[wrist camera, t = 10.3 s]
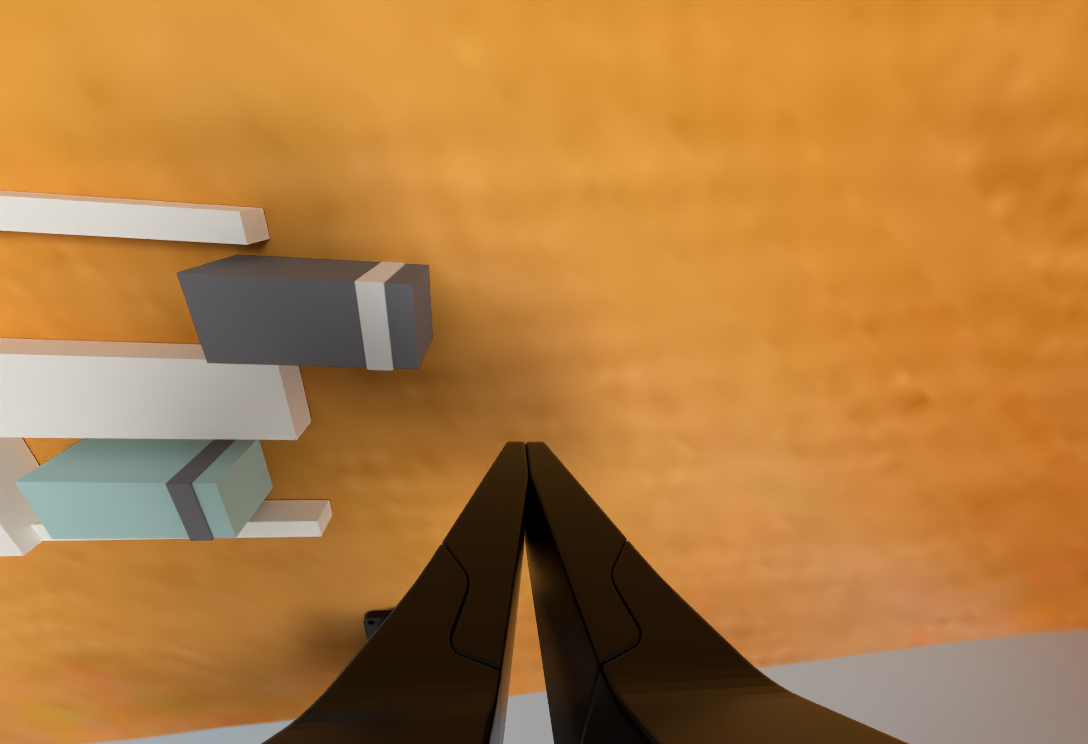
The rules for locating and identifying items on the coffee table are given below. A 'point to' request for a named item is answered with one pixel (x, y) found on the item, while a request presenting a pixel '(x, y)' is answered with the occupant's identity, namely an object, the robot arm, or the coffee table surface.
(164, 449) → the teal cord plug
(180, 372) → the slot rack
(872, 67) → the coffee table surface
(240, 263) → the dark grey block
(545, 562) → the robot arm
